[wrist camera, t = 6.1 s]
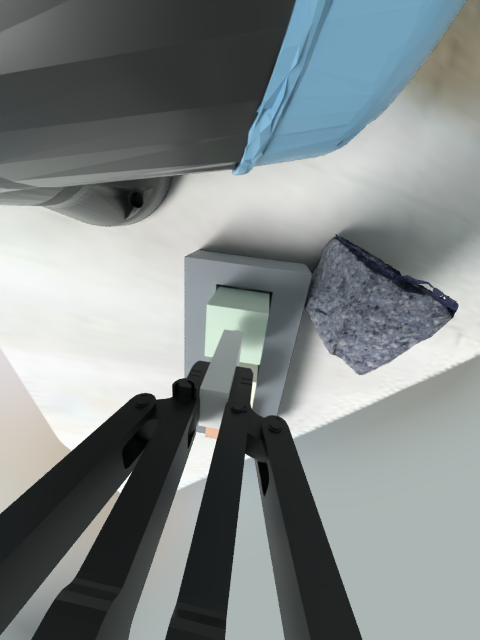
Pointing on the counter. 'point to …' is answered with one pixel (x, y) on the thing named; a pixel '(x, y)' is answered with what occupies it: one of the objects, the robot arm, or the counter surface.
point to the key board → (283, 321)
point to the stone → (370, 307)
